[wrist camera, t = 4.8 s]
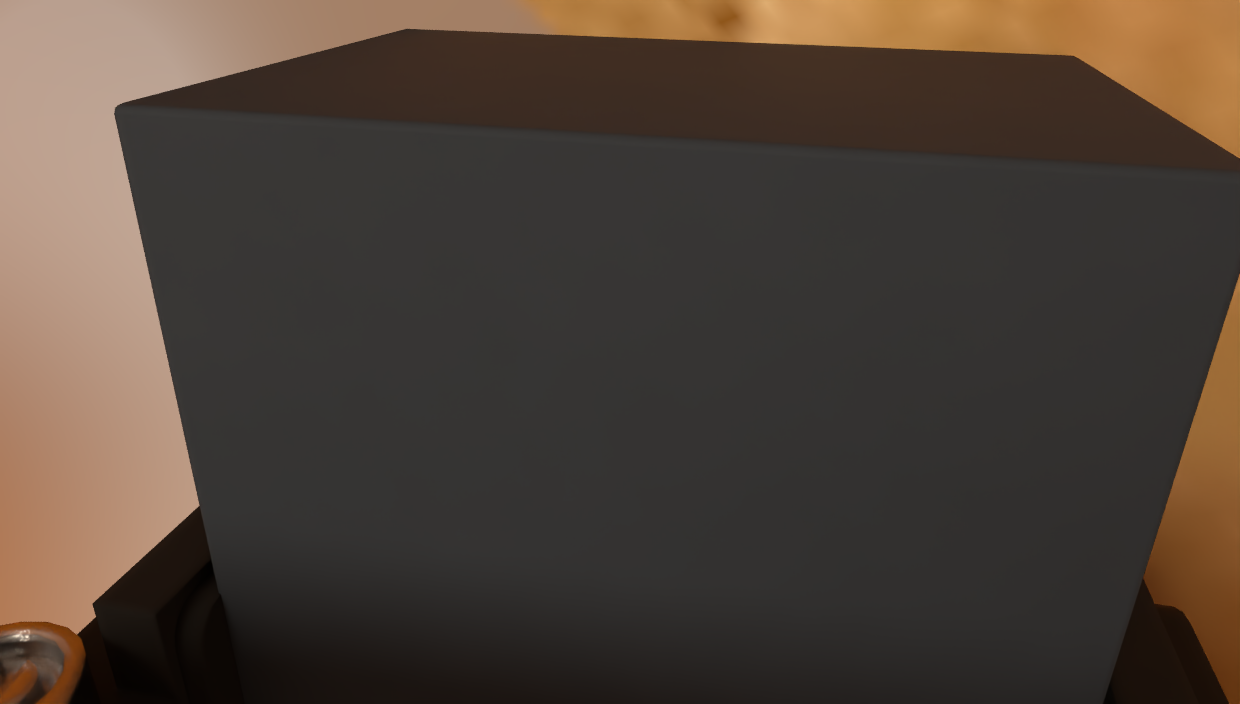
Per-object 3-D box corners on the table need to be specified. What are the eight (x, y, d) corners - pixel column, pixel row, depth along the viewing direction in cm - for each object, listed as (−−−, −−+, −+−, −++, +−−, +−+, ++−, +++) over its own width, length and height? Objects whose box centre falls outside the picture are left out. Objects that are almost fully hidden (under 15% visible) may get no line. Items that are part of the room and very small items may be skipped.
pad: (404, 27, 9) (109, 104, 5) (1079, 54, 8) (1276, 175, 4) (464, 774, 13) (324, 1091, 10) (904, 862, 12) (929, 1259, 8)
